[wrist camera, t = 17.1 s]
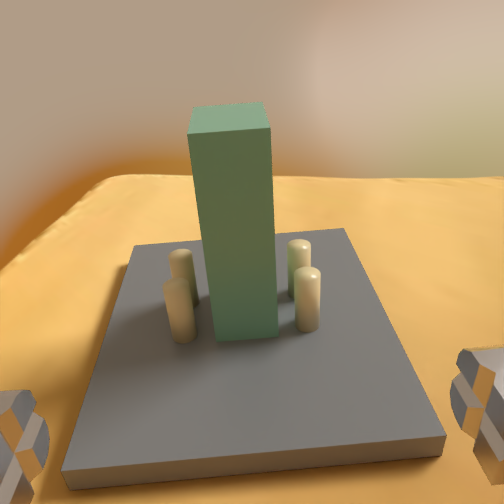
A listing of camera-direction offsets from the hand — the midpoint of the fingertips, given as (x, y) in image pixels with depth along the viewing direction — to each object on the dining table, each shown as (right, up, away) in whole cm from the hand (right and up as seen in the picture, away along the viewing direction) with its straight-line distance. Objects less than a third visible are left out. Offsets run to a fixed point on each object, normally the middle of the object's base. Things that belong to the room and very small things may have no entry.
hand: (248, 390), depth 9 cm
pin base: (0, -1, +15) cm, 15 cm away
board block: (0, 0, +14) cm, 14 cm away
